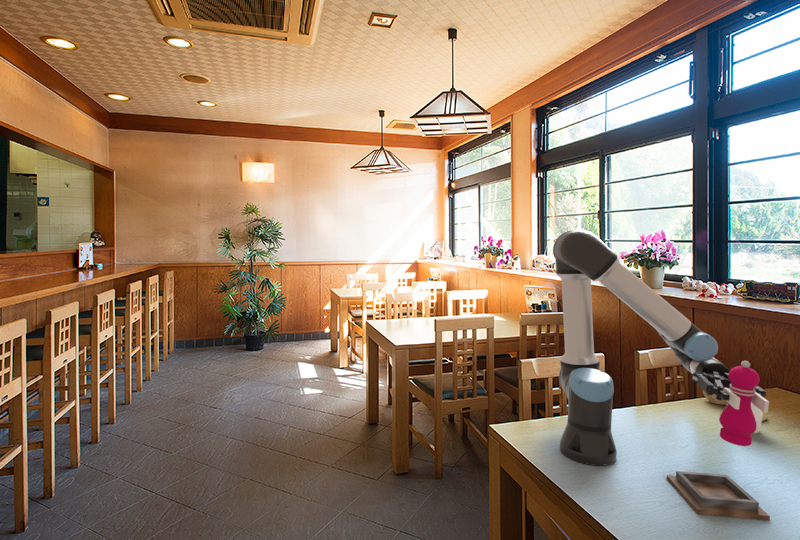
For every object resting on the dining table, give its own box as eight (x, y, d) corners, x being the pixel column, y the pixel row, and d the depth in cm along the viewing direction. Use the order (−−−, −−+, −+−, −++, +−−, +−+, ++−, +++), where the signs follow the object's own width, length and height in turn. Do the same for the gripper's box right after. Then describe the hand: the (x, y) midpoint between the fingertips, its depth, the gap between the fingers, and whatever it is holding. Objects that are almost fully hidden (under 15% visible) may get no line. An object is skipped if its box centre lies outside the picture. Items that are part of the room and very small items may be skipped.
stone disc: (700, 400, 174) (702, 375, 174) (703, 398, 177) (705, 373, 176) (732, 408, 166) (734, 382, 165) (735, 406, 169) (737, 380, 168)
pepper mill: (717, 429, 114) (727, 354, 112) (753, 439, 110) (764, 360, 107) (716, 440, 108) (727, 361, 106) (754, 450, 104) (766, 368, 102)
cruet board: (697, 513, 101) (698, 501, 101) (666, 478, 116) (667, 467, 116) (769, 520, 99) (770, 507, 99) (728, 483, 114) (729, 472, 114)
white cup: (767, 435, 143) (769, 405, 143) (739, 433, 145) (741, 403, 144) (753, 425, 151) (755, 396, 150) (727, 423, 153) (729, 394, 152)
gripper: (745, 388, 123) (796, 426, 101) (672, 380, 128) (705, 415, 105) (749, 362, 122) (801, 395, 100) (675, 355, 127) (709, 384, 104)
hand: (751, 405), depth 103 cm, fingers closed on pepper mill, 5 cm apart
